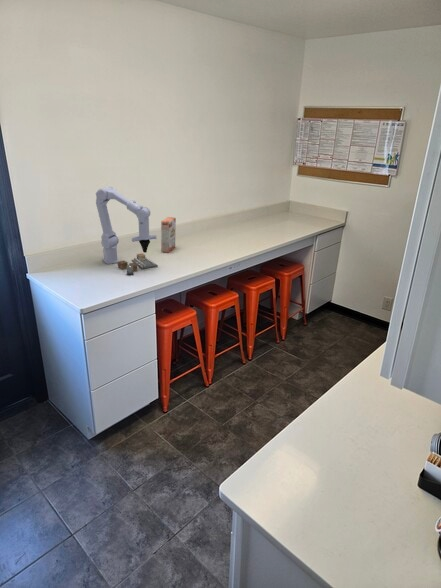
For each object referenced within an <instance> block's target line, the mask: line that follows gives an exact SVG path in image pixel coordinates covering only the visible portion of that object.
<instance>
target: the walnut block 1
mask: <svg viewBox="0 0 441 588" xmlns="http://www.w3.org/2000/svg"><path fill="white" fill-rule="evenodd" d="M128 263H129V262H128V261H127V260H125V259H124V260H119V262H118V263H117V268H118V269H119V270H121V271H124V270H127V265H129V264H128Z"/></svg>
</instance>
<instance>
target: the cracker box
mask: <svg viewBox="0 0 441 588" xmlns="http://www.w3.org/2000/svg"><path fill="white" fill-rule="evenodd" d="M160 223H161V224H160V225H161V227H160V228H161V229H160V232H161V234H160V236H161V237H160V239H161V240H160V242H161V243H160V244H161V245H160V246H161V251H160V252H161V253H165V254H166V253H170V252H171V251H173V250H174V249H175V248H176V229H177V228H176V224H177V223H176V217H173V216H168V217H167V216H166V218H165V219H163V220H161V222H160Z"/></svg>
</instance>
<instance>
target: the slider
mask: <svg viewBox="0 0 441 588" xmlns="http://www.w3.org/2000/svg"><path fill="white" fill-rule="evenodd" d="M145 257H146V253H144V252H141V253H140V252H139V253H136V258H137V259H138V260H139V261H144V260H145Z"/></svg>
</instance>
